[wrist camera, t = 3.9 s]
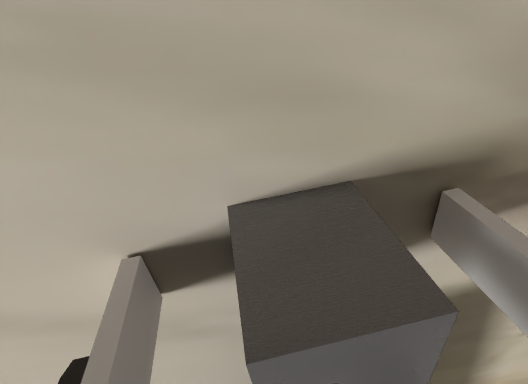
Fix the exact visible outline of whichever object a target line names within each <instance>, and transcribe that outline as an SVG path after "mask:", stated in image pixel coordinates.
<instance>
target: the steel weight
mask: <svg viewBox="0 0 528 384" xmlns="http://www.w3.org/2000/svg"><path fill="white" fill-rule="evenodd" d="M227 208H228V216H229V225H230V233H231V241H232V250H233V258H234V267H235V275H236V284H237V292H238V300H239V309H240V317H241V326H242V334H243V343H244V351H245V359H246V366H247V369H248V372H249V375H250V378H251V381H252V384H428V382H429V380H430V378H431V375H432V373H433V371H434V368H435V366H436V364H437V361H438V359H439V357H440V354H441V352H442V350H443V347H444V345H445V343H446V340H447V338H448V336H449V333H450V331H451V329H452V326H453V324H454V322H455V319H456V317H457V315H458V312H459V311H458V310H457V309H456V308H455V306H454V305H453V304H452V303H451V302H450V300H449V299H448V298H447V297H446V295H445V294H444V293H443V292H442V291H441V289H440V288H439V287H438V286H437V285H436V283H435V282H434V281H433V280H432V279H431V277H430V276H429V275H428V274H427V273H426V271H425V270H424V269H423V268H422V267H421V265H420V264H419V263H418V262H417V261H416V259H415V258H414V257H413V256H412V254H411V253H410V252H409V251H408V250H407V248H406V247H405V246H404V245H403V244H402V242H401V241H400V240H399V239H398V238H397V236H396V235H395V234H394V233H393V232H392V230H391V229H390V228H389V227H388V226H387V224H386V223H385V222H384V221H383V220H382V218H381V217H380V216H379V215H378V213H377V212H376V211H375V210H374V209H373V207H372V206H371V205H370V204H369V203H368V201H367V200H366V199H365V198H364V197H363V195H362V194H361V193H360V192H359V191H358V189H357V188H356V187H355V186H354V185H353V183H352V182H351V181H347V182H343V183H338V184H333V185H328V186H323V187H319V188H314V189H309V190H304V191H299V192H295V193H290V194H285V195H280V196H275V197H271V198H266V199H261V200H256V201H251V202H246V203H242V204H237V205H232V206H227Z"/></svg>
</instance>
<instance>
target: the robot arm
mask: <svg viewBox="0 0 528 384" xmlns="http://www.w3.org/2000/svg"><path fill="white" fill-rule="evenodd" d="M430 238H431V239H432V240H433V241H434V242H435V243H436V244H437V245H438V246H439V247H440V248H441V249H442V250H443V251H444V252H445V253H446V254H447V255H448V256H449V257H450V258H451V259H452V260H453V261H454V262H455V263H456V264H457V265H458V266H459V267H460V268H461V269H462V270H463V271H464V272H465V273H466V274H467V275H468V277H469V278H470V279H471V280H472V281H473V282H474V283H475V284H476V285H477V286H478V287H479V288H480V289H481V290H482V291H483V292H484V293H485V294H486V295H487V296H488V297H489V298H490V299H491V300H492V301H493V302H494V303H495V304H496V305H497V306H498V307H499V308H500V309H501V310H502V311H503V312H504V313H505V315H506V316H507V317H508V318H509V319H510V320H511V321H512V322H513V323H514V324H515V325H516V326H517V327H518V328H519V329H520V330H521V331H522V332H523V333H524V334H525V335H526V336H527V337H528V237H526V236H525V235H524V234H522V233H521V232H519V231H518V230H517V229H515V228H514V227H512V226H511V225H510V224H508V223H507V222H505V221H504V220H503V219H501V218H500V217H498V216H497V215H496V214H494V213H493V212H492V211H490V210H489V209H487V208H486V207H485V206H483V205H482V204H480V203H479V202H478V201H476V200H475V199H473V198H472V197H471V196H469V195H468V194H466V193H465V192H464V191H462V190H461V189H459V188H455V189H451V190H446V191H442V194H441V198H440V202H439V206H438V210H437V214H436V217H435V221H434V225H433V229H432V233H431V237H430ZM161 304H162V296H161V294H160V292H159V290H158V288H157V286H156V284H155V282H154V280H153V278H152V276H151V275H150V273H149V271H148V269H147V267H146V265H145V263H144V261H143V259H142V257H141V256H136V257H132V258H127V259H122V260H121V263H120V266H119V269H118V272H117V275H116V278H115V281H114V284H113V287H112V290H111V293H110V296H109V299H108V302H107V305H106V309H105V312H104V315H103V318H102V321H101V324H100V327H99V330H98V333H97V336H96V339H95V342H94V345H93V348H92V351H91V354H90V356H88V357H84V358H79V359H75V360H73V361H72V362H71V364H70V365H69V367H68V368H67V369H66V371H65V372H64V374H63V375H62V376H61V378H60V380H59V382H58V384H150V379H151V372H152V365H153V358H154V351H155V344H156V338H157V331H158V324H159V317H160V310H161Z"/></svg>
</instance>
